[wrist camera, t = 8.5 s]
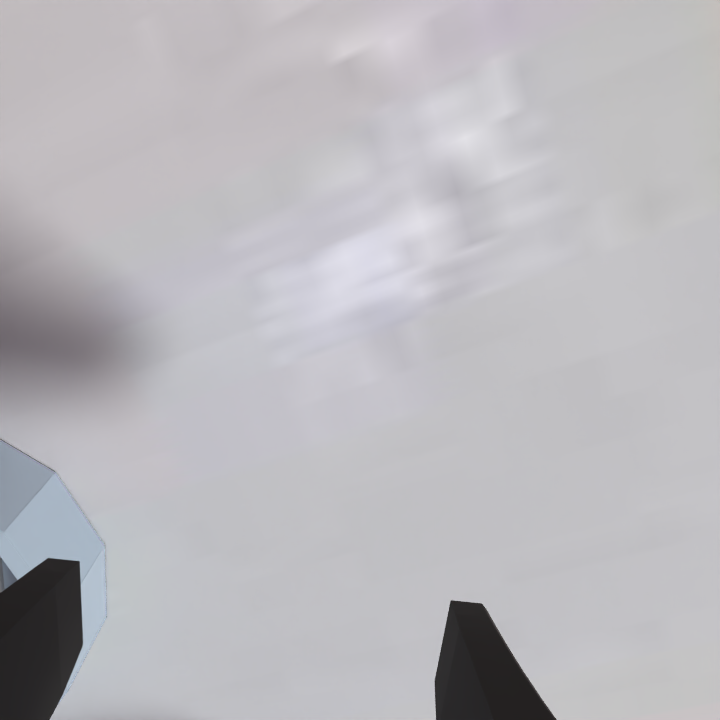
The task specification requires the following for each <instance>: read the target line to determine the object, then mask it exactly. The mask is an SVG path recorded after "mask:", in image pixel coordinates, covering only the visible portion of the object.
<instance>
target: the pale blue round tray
mask: <svg viewBox="0 0 720 720" xmlns="http://www.w3.org/2000/svg"><path fill="white" fill-rule="evenodd" d="M47 558H54V559H64V560H73V561H80V580H81V603H82V627H83V646H82V649H81V651H80V654H79V656H78V659H77V662H76V664H75V667H74V669H73V672H72V674H71V676H70V679H69V681H68V683H67V686H66V688H65V690H64V693H63V695H62V697H61V699H60V701H61V700H62V698H63V697H64V696H65V694H66V693H67V692H68V690H69V688H70V686H71V684H72V683H73V681H74V679H75V677H76V675H77V673H78V671H79V669H80V667H81V665H82V663H83V661H84V660H85V658H86V656H87V654H88V652H89V650H90V648H91V646H92V644H93V642H94V640H95V639H96V637H97V635H98V633H99V631H100V629H101V627H102V625H103V623H104V621H105V619H106V617H107V613H106V575H105V545H104V543H103V542H102V540H101V539H100V537H99V536H98V534H97V533H96V532H95V530H94V529H93V527H92V526H91V524H90V523H89V521H88V520H87V518H86V517H85V515H84V514H83V512H82V511H81V509H80V508H79V506H78V505H77V503H76V502H75V500H74V499H73V497H72V496H71V494H70V493H69V491H68V490H67V488H66V487H65V485H64V484H63V482H62V481H61V479H60V478H59V476H58V475H57V473H56V472H54V471H53V470H51V469H49V468H48V467H46V466H44V465H43V464H41V463H39V462H38V461H36V460H34V459H32V458H31V457H29V456H27V455H26V454H24V453H22V452H21V451H19V450H17V449H16V448H14V447H12V446H11V445H9V444H7V443H5V442H4V441H2V440H0V593H1V592H2V591H4V590H5V589H6V588H8V587H9V586H10V585H12V584H13V583H14V582H16V581H17V580H18V579H20V578H21V577H22V576H24V575H25V574H27V573H28V572H29V571H31V570H32V569H33V568H35V567H36V566H37V565H39V564H40V563H42V562H43V561H44V560H46V559H47ZM60 701H59V702H60ZM58 704H59V703H58Z"/></svg>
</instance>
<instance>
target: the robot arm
mask: <svg viewBox="0 0 720 720" xmlns="http://www.w3.org/2000/svg"><path fill="white" fill-rule="evenodd" d="M82 646H83V627H82V603H81V580H80V561H73V560H64V559H54V558H47V559H46V560H44V561H43V562H42V563H40V564H39V565H37V566H36V567H35V568H33V569H32V570H31V571H29V572H28V573H27V574H25V575H24V576H22V577H21V578H20V579H18V580H17V581H16V582H14V583H13V584H12V585H10V586H9V587H8V588H6V589H5V590H4V591H2V592H1V593H0V720H49V719H50V717H51V716H52V714H53V712H54V710H55V708H56V707H57V705H58V703H59V701H60V699H61V697H62V695H63V693H64V690H65V688H66V686H67V683H68V681H69V679H70V676H71V674H72V672H73V669H74V667H75V664H76V662H77V659H78V656H79V654H80V651H81V649H82ZM435 701H436V720H556V718H555V717H554V716H553V714H552V713H551V711H550V710H549V709H548V707H547V706H546V704H545V703H544V701H543V700H542V699H541V697H540V696H539V694H538V693H537V691H536V690H535V688H534V687H533V685H532V684H531V682H530V681H529V679H528V678H527V676H526V675H525V673H524V672H523V670H522V669H521V667H520V665H519V664H518V662H517V661H516V659H515V657H514V656H513V654H512V653H511V651H510V649H509V648H508V646H507V644H506V643H505V641H504V639H503V638H502V636H501V634H500V632H499V631H498V629H497V627H496V626H495V624H494V622H493V620H492V619H491V617H490V615H489V613H488V611H487V610H486V608H485V607H484V606H483V604H480V603H470V602H461V601H451V602H450V607H449V612H448V617H447V622H446V627H445V632H444V637H443V642H442V647H441V652H440V657H439V662H438V667H437V672H436V677H435Z"/></svg>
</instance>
